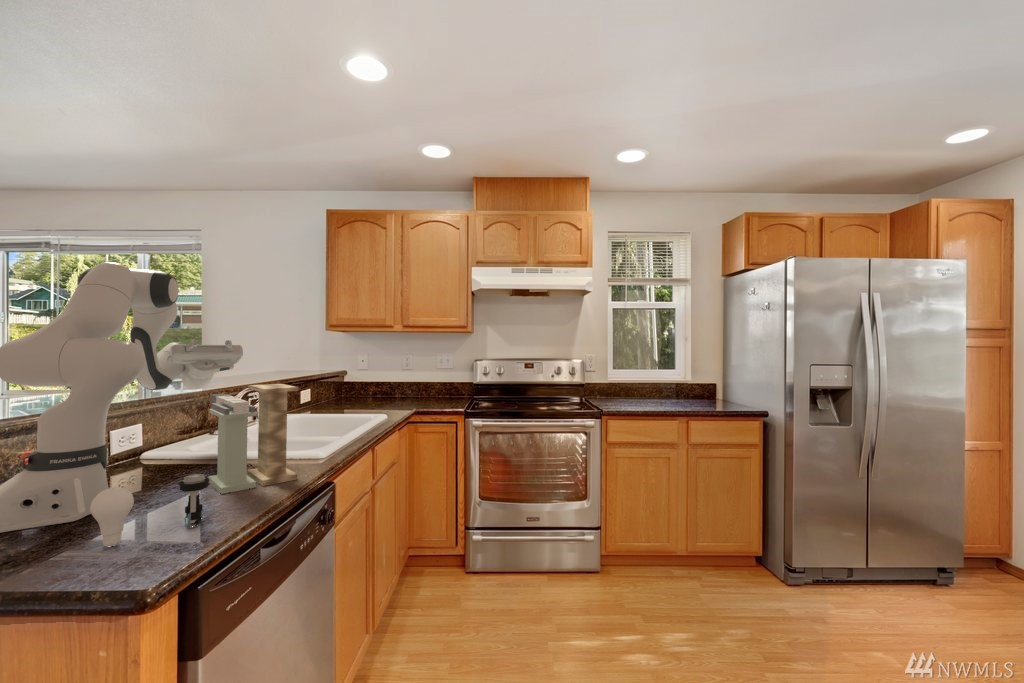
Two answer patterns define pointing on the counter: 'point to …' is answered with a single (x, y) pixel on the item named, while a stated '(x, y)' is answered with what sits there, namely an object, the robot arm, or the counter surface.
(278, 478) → the stone pillar pedestal
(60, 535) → the counter surface
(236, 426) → the pale green pedestal
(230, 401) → the aluminium bar
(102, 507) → the lightbulb
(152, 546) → the counter surface
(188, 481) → the push button
